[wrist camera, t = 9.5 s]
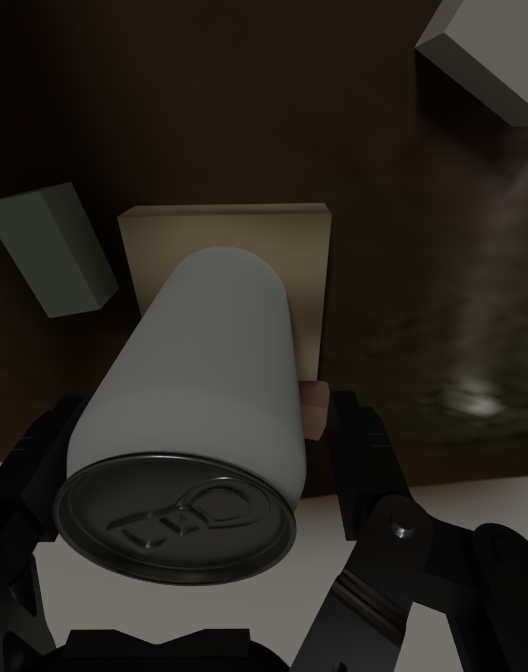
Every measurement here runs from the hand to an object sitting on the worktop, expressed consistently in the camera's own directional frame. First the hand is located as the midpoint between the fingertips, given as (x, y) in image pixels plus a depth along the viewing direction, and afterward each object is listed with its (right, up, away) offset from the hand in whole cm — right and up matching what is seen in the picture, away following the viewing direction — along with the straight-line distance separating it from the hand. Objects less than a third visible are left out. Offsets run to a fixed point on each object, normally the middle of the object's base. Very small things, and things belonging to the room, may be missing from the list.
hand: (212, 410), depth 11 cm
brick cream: (+11, +13, +2) cm, 17 cm away
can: (0, +4, +7) cm, 8 cm away
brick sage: (-9, +8, +8) cm, 14 cm away
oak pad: (0, +5, +9) cm, 10 cm away
